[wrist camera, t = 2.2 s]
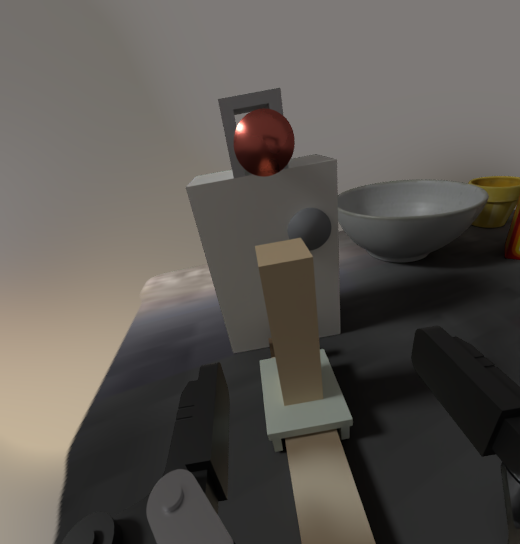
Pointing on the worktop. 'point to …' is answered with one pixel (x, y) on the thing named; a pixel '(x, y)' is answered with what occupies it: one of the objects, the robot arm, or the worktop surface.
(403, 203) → the decorative bowl
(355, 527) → the rail
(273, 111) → the ball
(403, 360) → the worktop surface
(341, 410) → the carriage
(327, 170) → the grey tall flat block
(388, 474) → the worktop surface
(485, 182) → the plant pot
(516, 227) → the baking soda box
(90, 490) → the worktop surface
